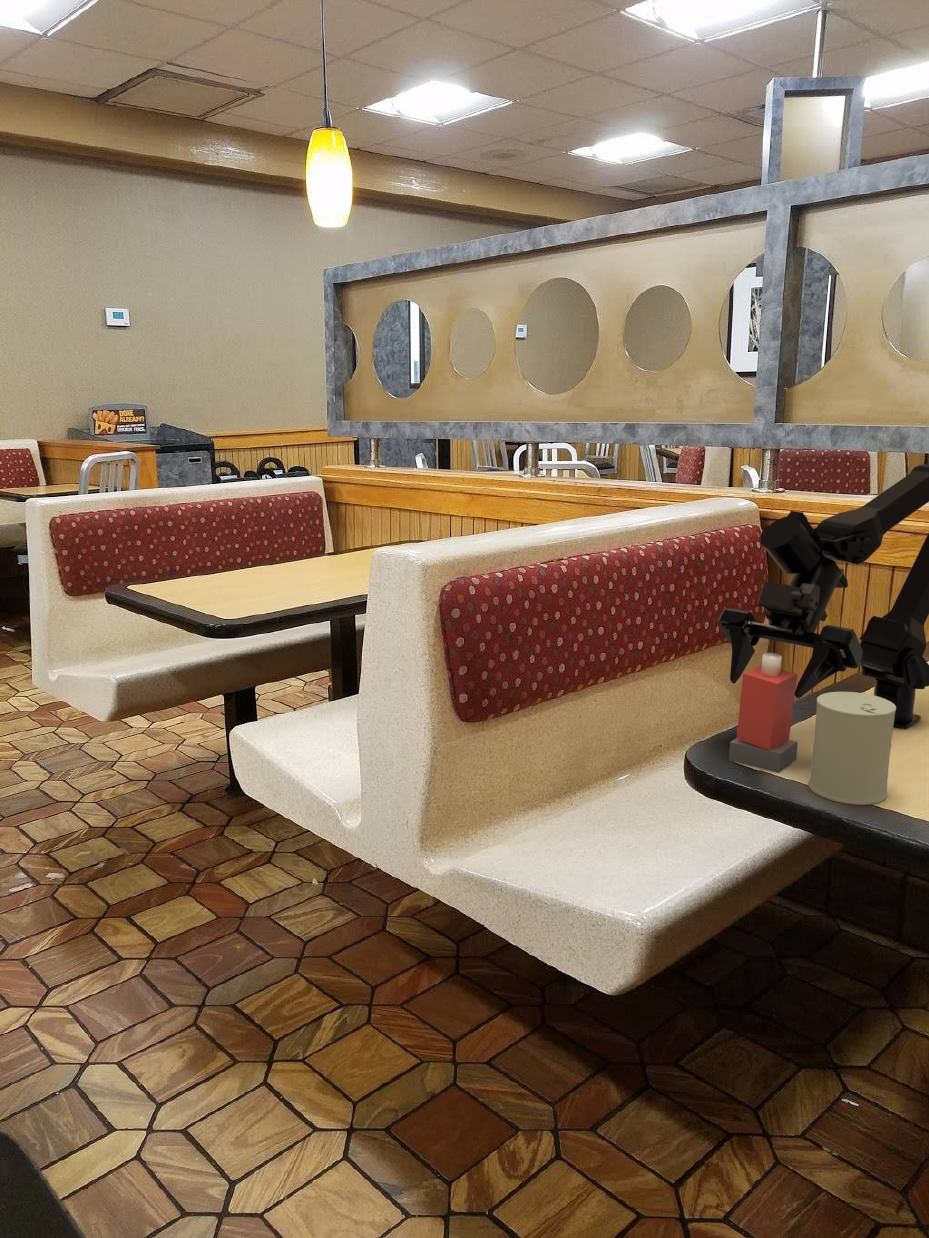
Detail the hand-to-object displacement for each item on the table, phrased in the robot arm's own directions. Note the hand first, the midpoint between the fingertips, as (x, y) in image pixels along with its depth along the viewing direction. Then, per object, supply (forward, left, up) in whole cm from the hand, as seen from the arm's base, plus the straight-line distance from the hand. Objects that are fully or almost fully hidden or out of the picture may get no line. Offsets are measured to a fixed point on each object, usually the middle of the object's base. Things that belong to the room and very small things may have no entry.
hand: (763, 688), depth 128 cm
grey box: (-1, 0, -11) cm, 11 cm away
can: (+1, +12, -11) cm, 16 cm away
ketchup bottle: (-1, 0, -7) cm, 8 cm away
